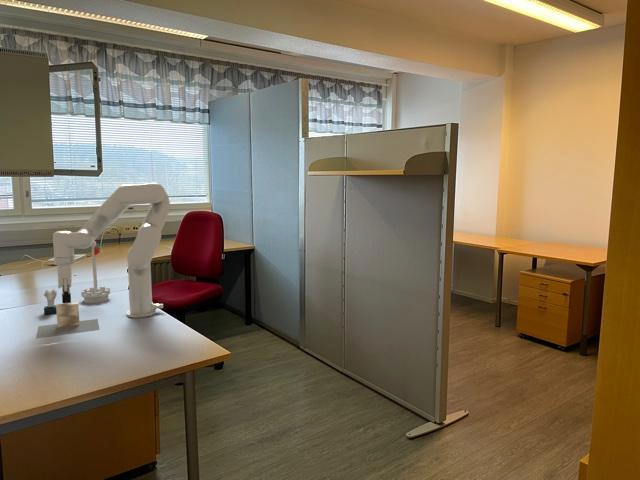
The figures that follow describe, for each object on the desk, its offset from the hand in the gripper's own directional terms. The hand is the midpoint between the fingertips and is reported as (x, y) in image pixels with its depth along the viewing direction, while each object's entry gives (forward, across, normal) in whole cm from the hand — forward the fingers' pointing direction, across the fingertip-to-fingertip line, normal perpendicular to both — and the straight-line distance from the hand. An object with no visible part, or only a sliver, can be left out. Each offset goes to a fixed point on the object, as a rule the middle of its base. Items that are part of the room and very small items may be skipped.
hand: (66, 302), depth 199 cm
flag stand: (+8, -32, +12) cm, 35 cm away
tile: (+8, +8, 0) cm, 11 cm away
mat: (+8, +12, 0) cm, 15 cm away
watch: (+8, -16, -7) cm, 19 cm away
